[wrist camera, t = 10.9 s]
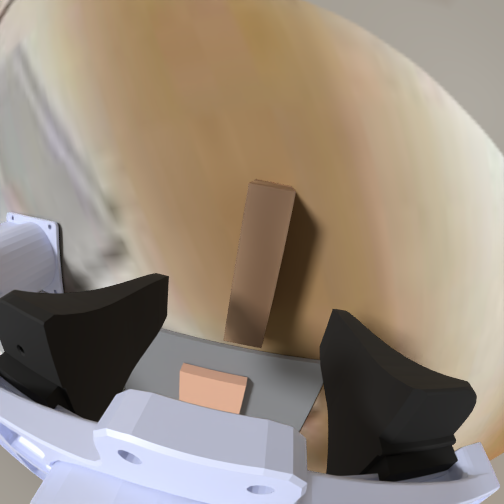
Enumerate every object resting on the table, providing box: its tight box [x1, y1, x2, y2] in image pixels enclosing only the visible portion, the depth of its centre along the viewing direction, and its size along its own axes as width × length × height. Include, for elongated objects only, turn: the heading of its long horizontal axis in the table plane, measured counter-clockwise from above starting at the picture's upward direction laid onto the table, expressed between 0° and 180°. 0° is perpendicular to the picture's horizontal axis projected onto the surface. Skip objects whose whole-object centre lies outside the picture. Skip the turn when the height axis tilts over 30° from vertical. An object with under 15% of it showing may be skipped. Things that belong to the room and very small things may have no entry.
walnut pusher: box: [224, 179, 296, 348], centre depth 18 cm, size 2×10×5 cm, turn 170°
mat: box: [125, 328, 323, 432], centre depth 26 cm, size 20×16×1 cm
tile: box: [179, 363, 247, 414], centre depth 25 cm, size 6×1×9 cm
